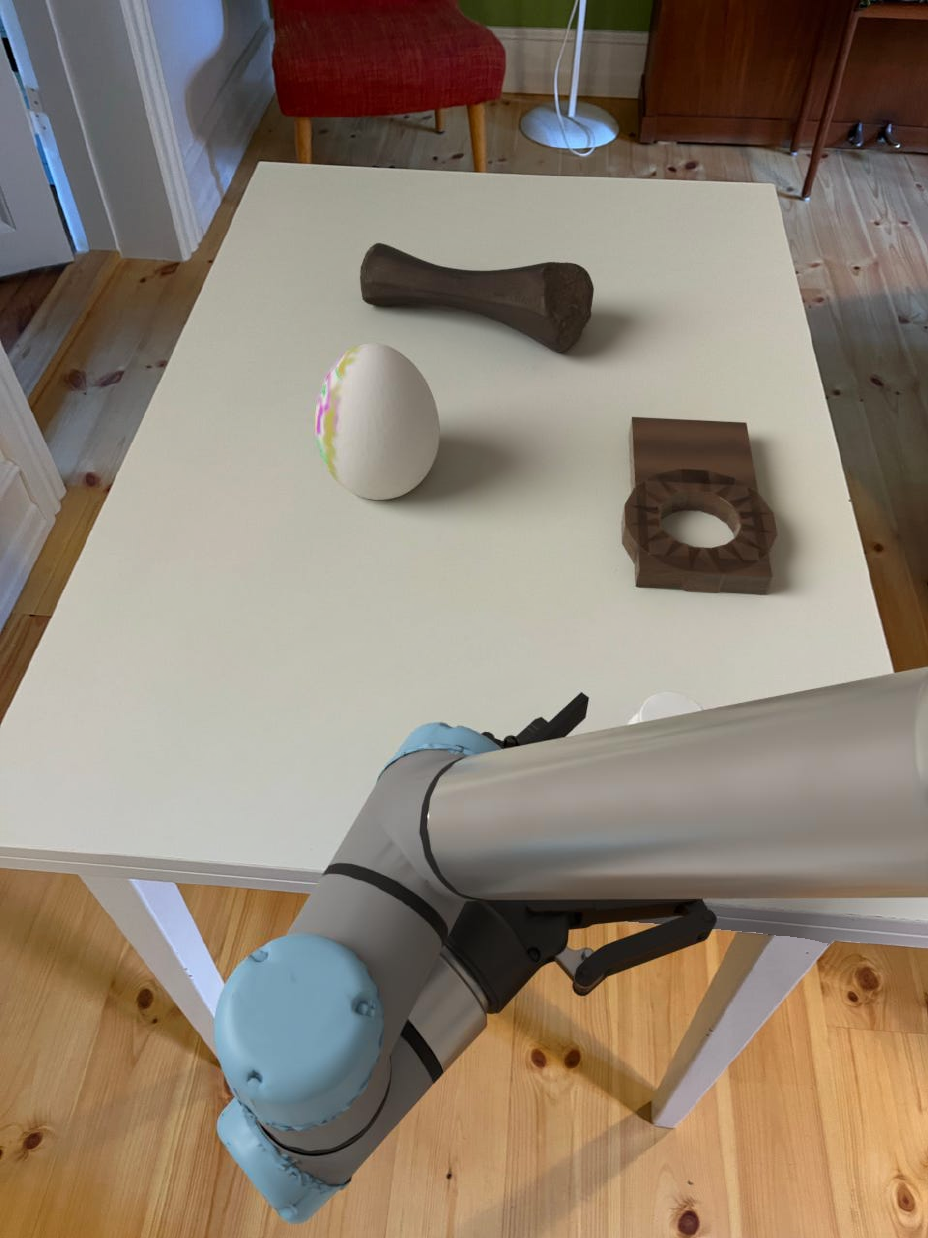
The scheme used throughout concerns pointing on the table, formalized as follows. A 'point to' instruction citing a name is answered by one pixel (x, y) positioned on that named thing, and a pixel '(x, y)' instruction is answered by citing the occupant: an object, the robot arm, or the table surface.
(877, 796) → the robot arm
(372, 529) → the table surface
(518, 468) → the table surface
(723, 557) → the plate
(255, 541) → the table surface
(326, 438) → the decorative egg
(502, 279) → the dark brown bone
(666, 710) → the pill bottle
